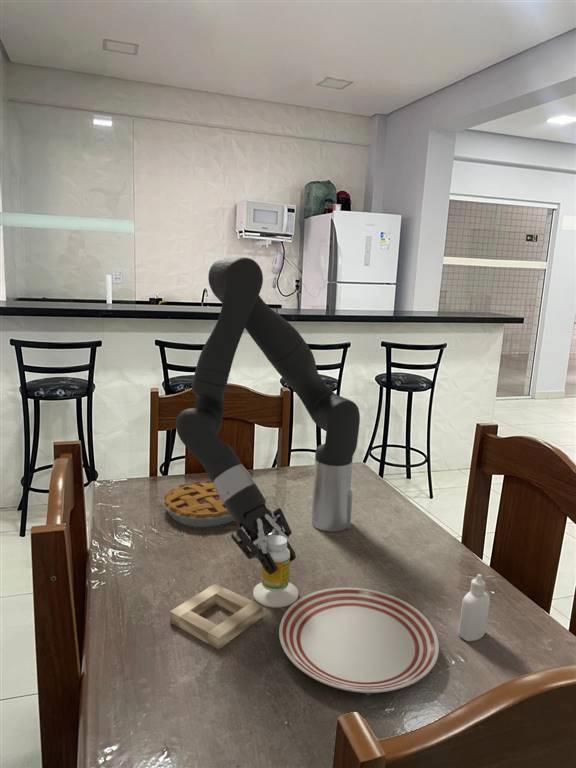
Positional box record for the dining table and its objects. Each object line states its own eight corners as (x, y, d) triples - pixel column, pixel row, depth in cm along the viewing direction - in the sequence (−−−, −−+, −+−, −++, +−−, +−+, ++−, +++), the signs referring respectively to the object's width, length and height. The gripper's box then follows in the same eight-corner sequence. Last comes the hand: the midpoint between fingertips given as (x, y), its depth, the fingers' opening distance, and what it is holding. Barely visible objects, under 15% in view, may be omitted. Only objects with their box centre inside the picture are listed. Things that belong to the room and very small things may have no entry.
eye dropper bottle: (452, 627, 109) (459, 568, 106) (481, 626, 110) (488, 568, 107) (462, 642, 105) (469, 582, 102) (492, 641, 105) (500, 581, 103)
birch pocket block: (214, 593, 116) (215, 583, 116) (262, 616, 110) (262, 606, 109) (169, 622, 107) (169, 611, 106) (218, 649, 100) (218, 638, 100)
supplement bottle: (285, 594, 113) (287, 548, 111) (258, 589, 114) (260, 544, 112) (290, 579, 119) (293, 535, 116) (265, 575, 120) (267, 531, 118)
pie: (147, 507, 155) (147, 489, 153) (217, 488, 169) (217, 472, 167) (191, 539, 138) (191, 519, 137) (264, 516, 152) (264, 498, 151)
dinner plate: (402, 734, 84) (404, 715, 84) (247, 660, 98) (247, 642, 97) (457, 635, 107) (459, 619, 106) (325, 586, 121) (326, 571, 120)
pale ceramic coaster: (294, 581, 122) (294, 578, 122) (302, 606, 113) (302, 603, 113) (251, 583, 121) (251, 580, 120) (255, 609, 112) (255, 606, 112)
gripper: (225, 494, 111) (272, 573, 107) (271, 473, 122) (316, 544, 118) (204, 512, 115) (249, 589, 111) (250, 490, 126) (293, 560, 122)
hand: (283, 565), depth 115 cm, fingers closed on supplement bottle, 5 cm apart
